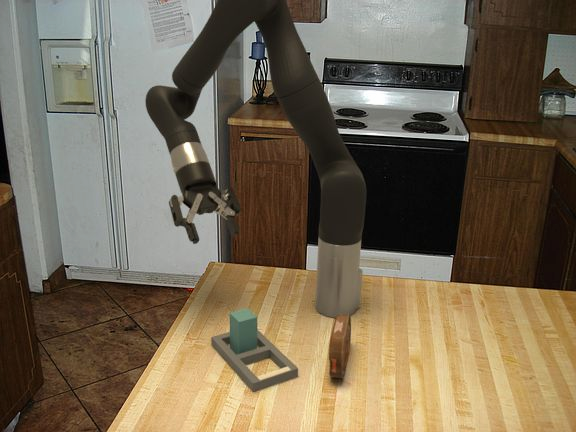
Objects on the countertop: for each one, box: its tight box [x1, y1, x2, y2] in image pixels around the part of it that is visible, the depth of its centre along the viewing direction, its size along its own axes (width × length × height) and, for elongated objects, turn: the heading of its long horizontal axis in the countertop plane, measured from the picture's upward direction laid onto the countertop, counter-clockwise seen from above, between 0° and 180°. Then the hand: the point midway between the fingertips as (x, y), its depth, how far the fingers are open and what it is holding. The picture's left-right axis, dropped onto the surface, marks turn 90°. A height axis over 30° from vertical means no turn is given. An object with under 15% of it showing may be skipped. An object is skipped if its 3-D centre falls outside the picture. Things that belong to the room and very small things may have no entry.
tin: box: [328, 315, 352, 380], centre depth 121 cm, size 15×3×8 cm, turn 168°
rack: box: [210, 328, 299, 393], centre depth 122 cm, size 10×18×2 cm, turn 31°
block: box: [229, 307, 258, 355], centre depth 124 cm, size 4×4×8 cm
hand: (216, 238), depth 128 cm, fingers open, 8 cm apart
